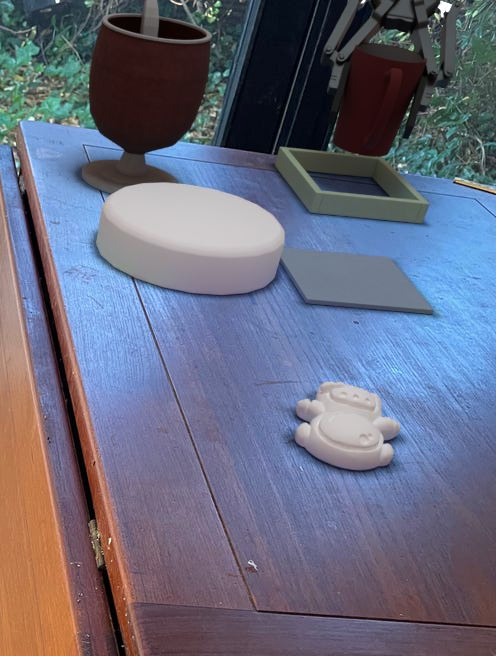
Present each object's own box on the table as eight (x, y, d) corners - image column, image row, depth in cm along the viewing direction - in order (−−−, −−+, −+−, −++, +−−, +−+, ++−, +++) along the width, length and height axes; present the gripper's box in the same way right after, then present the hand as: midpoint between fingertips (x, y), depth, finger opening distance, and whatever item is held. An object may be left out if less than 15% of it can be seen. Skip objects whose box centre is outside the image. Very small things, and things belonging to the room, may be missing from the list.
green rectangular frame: (376, 176, 140) (383, 157, 138) (422, 223, 127) (430, 203, 125) (274, 165, 138) (279, 146, 136) (310, 212, 125) (316, 192, 123)
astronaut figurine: (402, 417, 87) (415, 386, 85) (384, 482, 79) (399, 449, 77) (304, 388, 89) (315, 357, 87) (277, 449, 81) (288, 416, 79)
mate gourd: (193, 205, 122) (235, 18, 109) (81, 195, 120) (111, 3, 107) (170, 164, 133) (205, -11, 120) (68, 154, 132) (92, -25, 118)
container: (195, 214, 120) (204, 173, 117) (313, 280, 108) (327, 237, 105) (60, 231, 111) (66, 188, 108) (173, 306, 99) (184, 260, 96)
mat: (388, 261, 115) (390, 257, 115) (432, 314, 105) (434, 310, 105) (272, 250, 114) (273, 246, 113) (305, 303, 104) (307, 298, 103)
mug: (403, 171, 124) (438, 73, 117) (333, 160, 124) (363, 61, 117) (388, 143, 133) (420, 50, 126) (322, 132, 133) (351, 39, 126)
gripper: (493, -7, 127) (448, 159, 126) (325, -36, 130) (280, 126, 129) (515, -52, 120) (467, 124, 119) (337, -82, 123) (288, 90, 122)
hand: (369, 125), depth 124 cm, fingers closed on mug, 9 cm apart
